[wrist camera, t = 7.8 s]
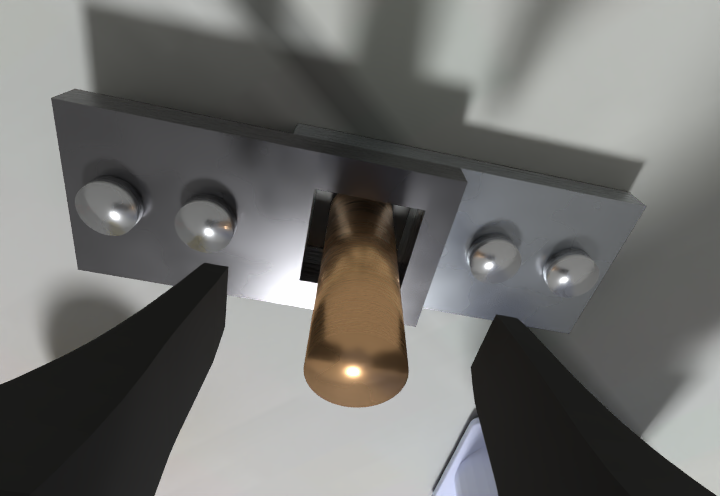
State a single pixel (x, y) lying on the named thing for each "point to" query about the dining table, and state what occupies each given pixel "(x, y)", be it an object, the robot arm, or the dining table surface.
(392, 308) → the copper pin
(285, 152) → the chain joint
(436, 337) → the dining table surface
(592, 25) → the dining table surface
